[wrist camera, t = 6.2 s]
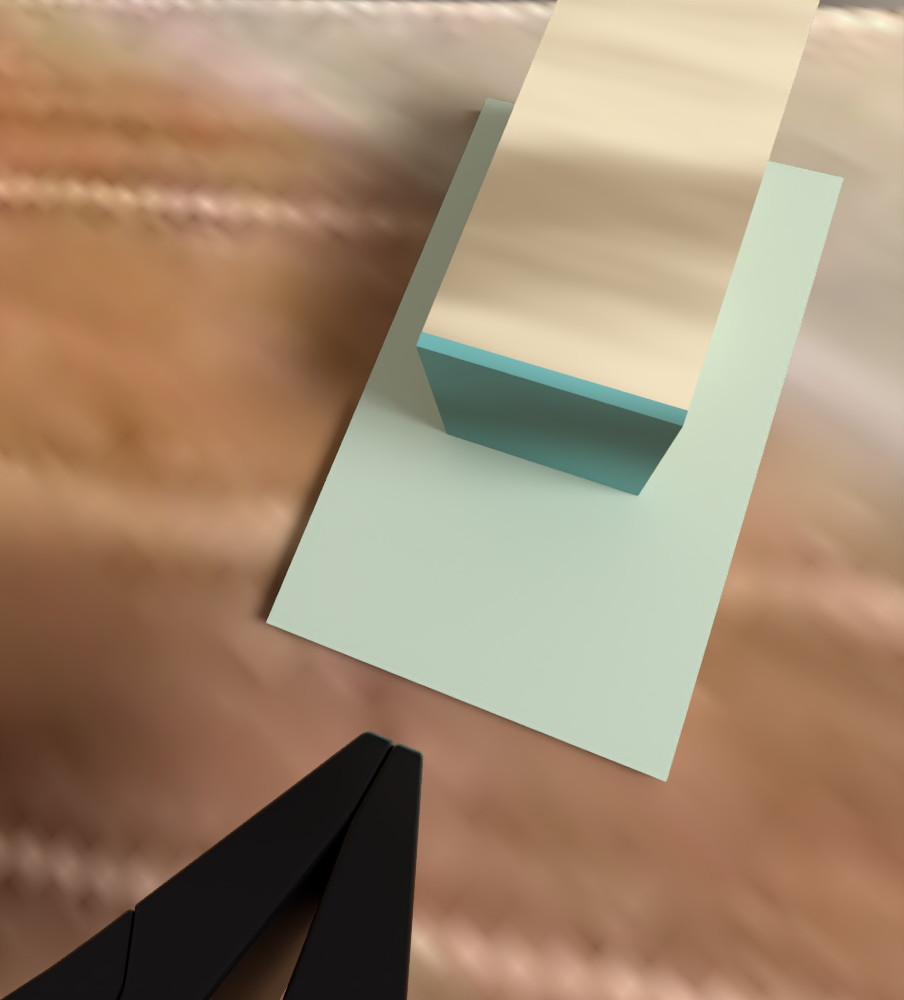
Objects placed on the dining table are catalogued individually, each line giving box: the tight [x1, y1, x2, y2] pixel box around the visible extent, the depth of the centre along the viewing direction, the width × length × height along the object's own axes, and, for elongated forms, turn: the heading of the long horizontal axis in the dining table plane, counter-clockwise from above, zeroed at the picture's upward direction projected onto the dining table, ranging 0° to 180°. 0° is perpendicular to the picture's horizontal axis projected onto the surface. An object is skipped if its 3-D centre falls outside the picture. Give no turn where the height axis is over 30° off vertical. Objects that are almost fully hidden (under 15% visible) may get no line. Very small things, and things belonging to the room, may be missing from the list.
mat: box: [266, 98, 844, 782], centre depth 18 cm, size 16×10×1 cm, turn 159°
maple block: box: [416, 0, 819, 496], centre depth 16 cm, size 5×5×10 cm
